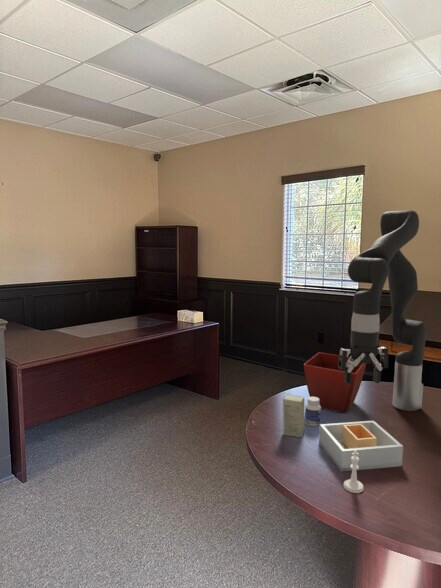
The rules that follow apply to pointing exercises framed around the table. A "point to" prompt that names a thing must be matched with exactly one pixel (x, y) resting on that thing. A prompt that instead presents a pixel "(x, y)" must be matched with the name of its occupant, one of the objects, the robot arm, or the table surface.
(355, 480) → the chess piece
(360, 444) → the small crate
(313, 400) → the pill bottle
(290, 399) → the skincare box
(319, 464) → the table surface
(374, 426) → the big crate
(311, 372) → the plant pot
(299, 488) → the table surface
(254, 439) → the table surface
